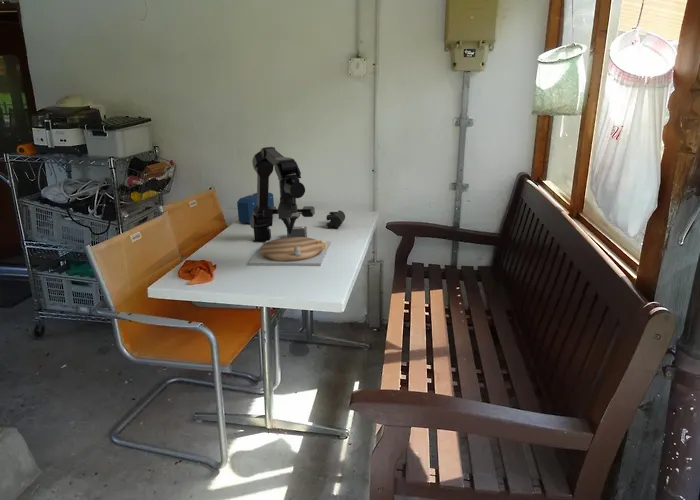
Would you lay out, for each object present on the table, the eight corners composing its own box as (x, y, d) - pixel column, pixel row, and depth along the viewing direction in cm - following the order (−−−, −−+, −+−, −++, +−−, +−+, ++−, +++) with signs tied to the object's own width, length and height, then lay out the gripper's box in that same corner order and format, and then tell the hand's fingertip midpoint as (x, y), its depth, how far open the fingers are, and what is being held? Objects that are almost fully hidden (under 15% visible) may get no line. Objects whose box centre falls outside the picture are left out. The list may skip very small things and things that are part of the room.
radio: (262, 213, 285) (259, 175, 278) (276, 215, 281) (273, 176, 274) (236, 223, 267) (232, 183, 261) (251, 225, 263) (247, 184, 257)
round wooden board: (256, 245, 228) (255, 234, 227) (314, 238, 235) (313, 227, 234) (266, 264, 205) (265, 252, 204) (329, 256, 212) (329, 244, 211)
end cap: (341, 229, 252) (341, 215, 250) (326, 229, 253) (326, 215, 251) (345, 223, 261) (345, 210, 259) (331, 223, 262) (330, 210, 260)
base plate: (248, 265, 209) (247, 255, 208) (266, 242, 236) (266, 234, 234) (320, 265, 206) (320, 255, 205) (330, 243, 233) (330, 234, 231)
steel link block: (287, 239, 239) (286, 228, 238) (289, 237, 243) (288, 225, 241) (305, 240, 239) (304, 228, 237) (307, 237, 242) (306, 225, 241)
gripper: (257, 198, 195) (260, 239, 200) (308, 198, 193) (311, 240, 198) (265, 191, 205) (268, 231, 210) (314, 191, 203) (316, 231, 208)
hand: (290, 233), depth 206 cm, fingers closed
